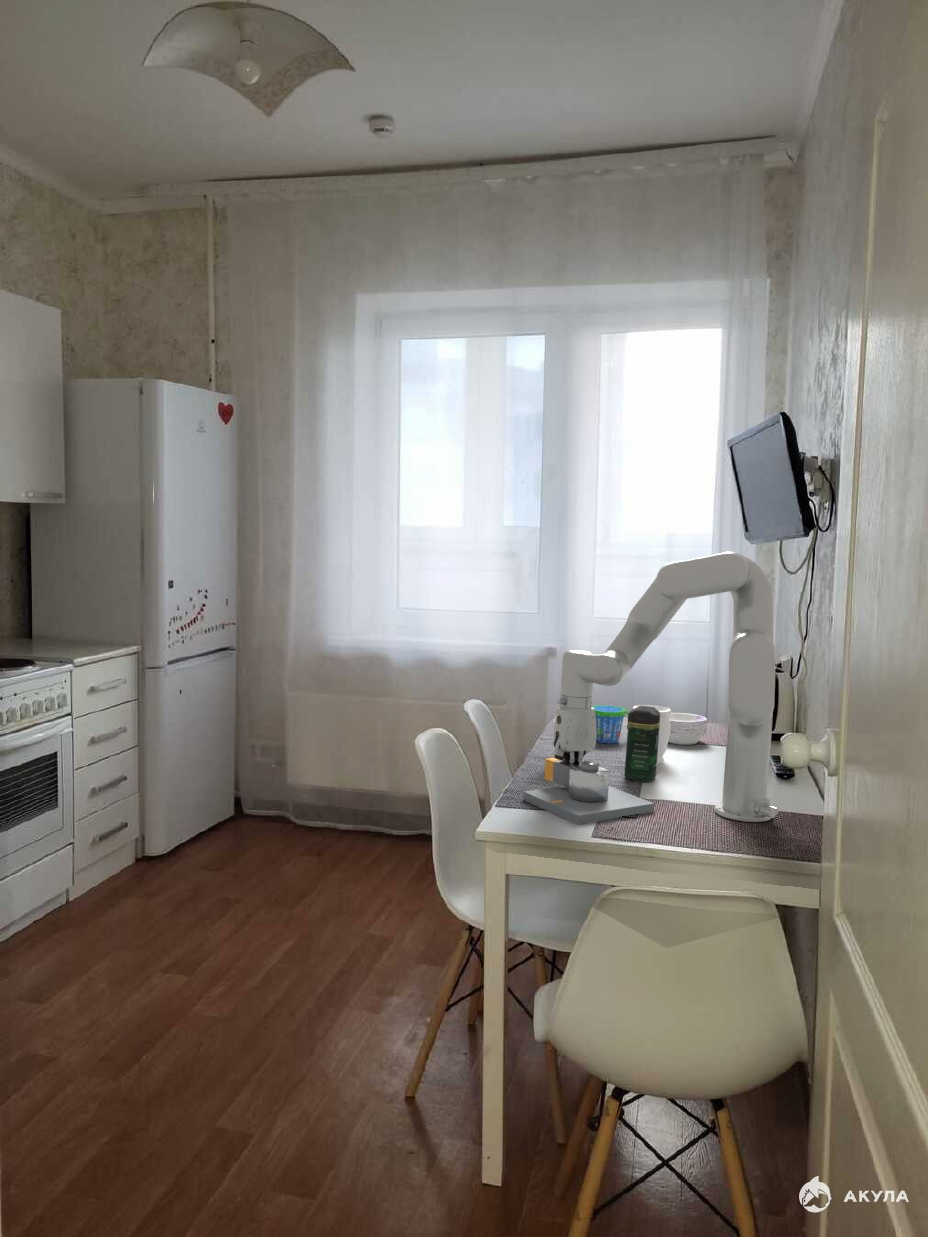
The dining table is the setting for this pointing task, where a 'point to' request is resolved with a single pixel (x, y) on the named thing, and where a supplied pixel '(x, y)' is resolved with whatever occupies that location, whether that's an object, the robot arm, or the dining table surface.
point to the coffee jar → (642, 744)
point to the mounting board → (587, 805)
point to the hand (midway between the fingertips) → (571, 777)
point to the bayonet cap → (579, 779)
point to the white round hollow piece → (686, 728)
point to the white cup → (662, 730)
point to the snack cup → (609, 723)
